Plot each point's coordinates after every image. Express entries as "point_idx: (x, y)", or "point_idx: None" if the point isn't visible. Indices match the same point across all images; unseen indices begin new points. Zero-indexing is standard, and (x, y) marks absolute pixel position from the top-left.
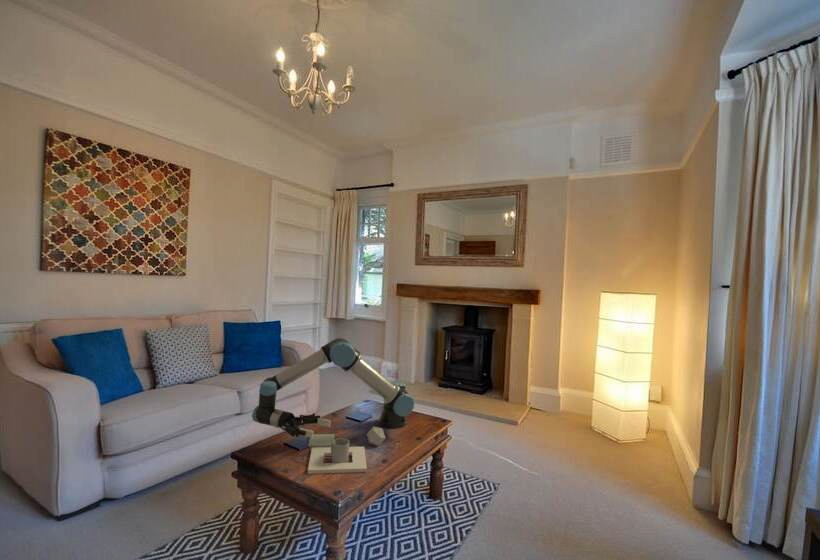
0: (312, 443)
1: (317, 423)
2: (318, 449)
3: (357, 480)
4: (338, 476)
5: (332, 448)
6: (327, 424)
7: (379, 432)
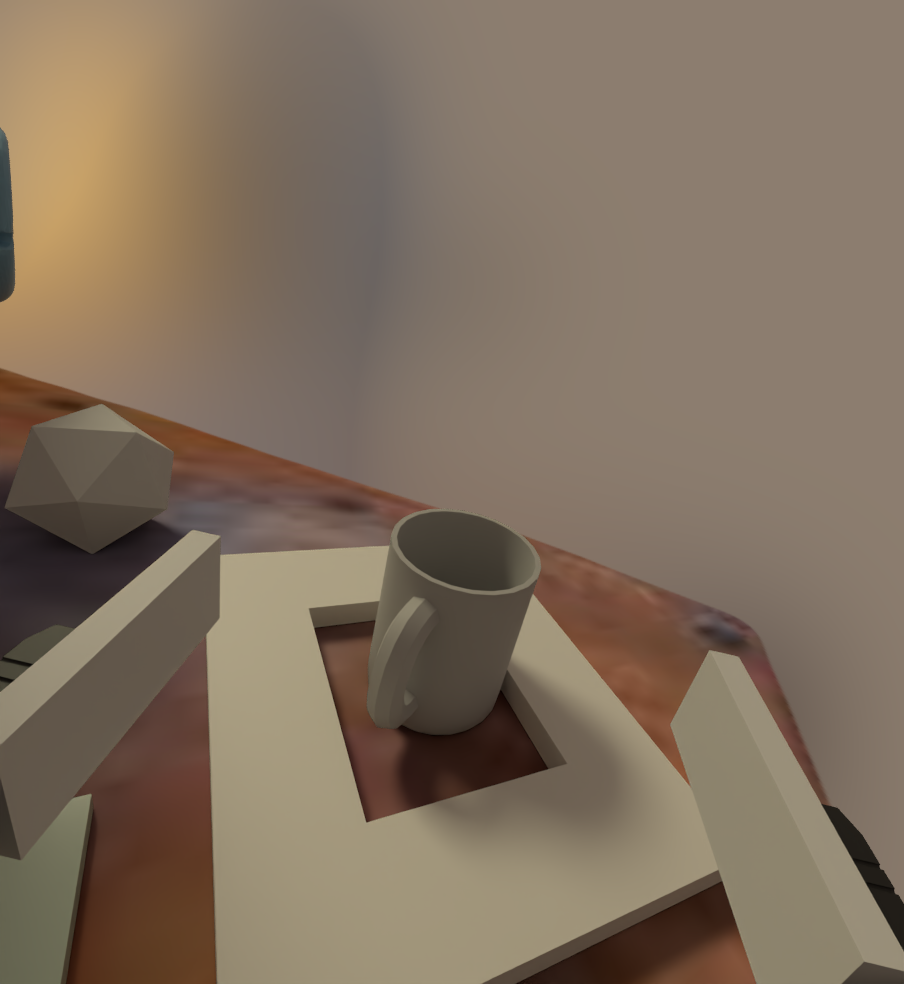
0: None
1: (17, 845)
2: (289, 936)
3: (575, 581)
4: (600, 657)
5: (498, 639)
6: (200, 612)
7: (139, 430)
